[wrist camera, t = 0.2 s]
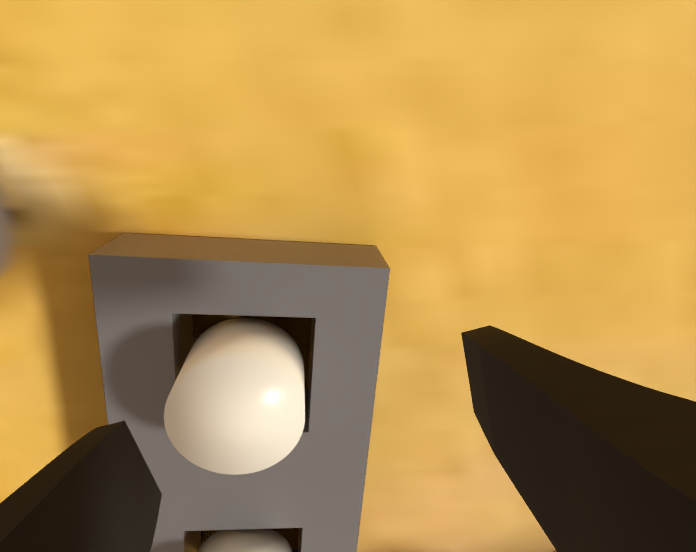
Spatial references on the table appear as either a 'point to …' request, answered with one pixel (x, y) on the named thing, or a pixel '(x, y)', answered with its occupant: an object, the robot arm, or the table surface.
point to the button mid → (245, 541)
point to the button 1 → (238, 398)
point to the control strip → (246, 300)
